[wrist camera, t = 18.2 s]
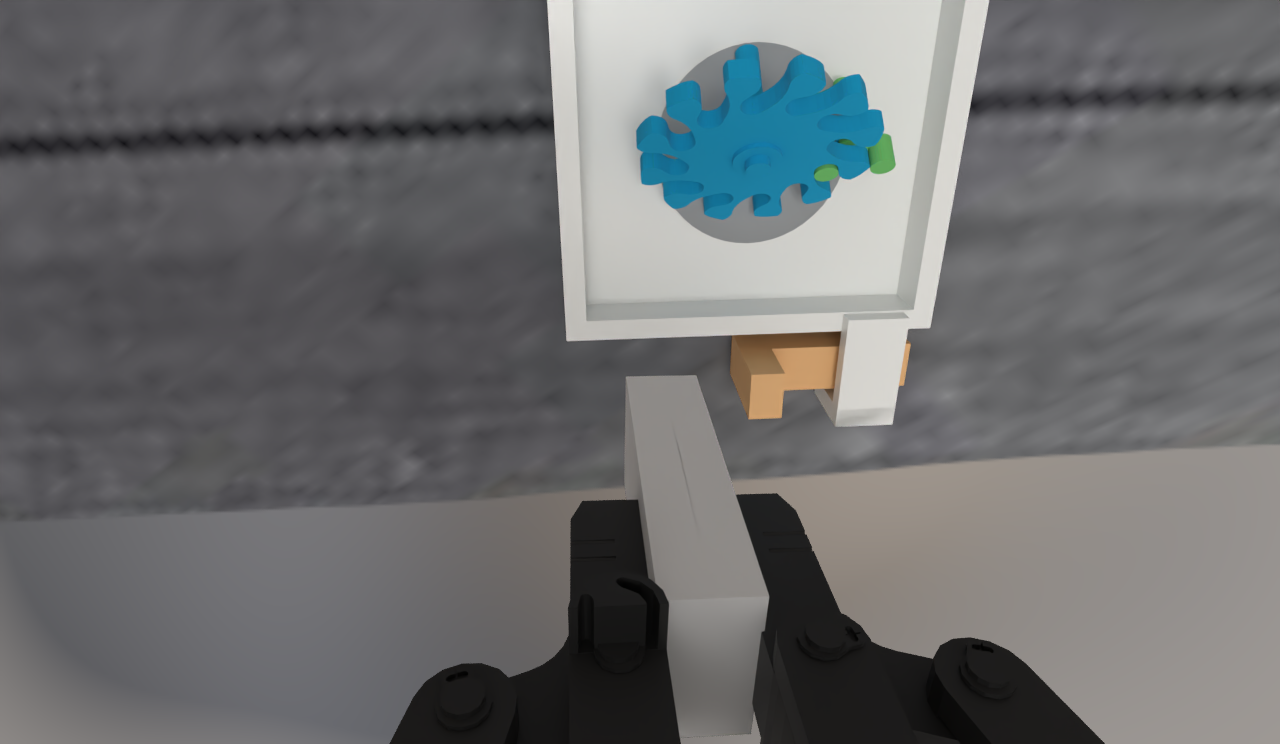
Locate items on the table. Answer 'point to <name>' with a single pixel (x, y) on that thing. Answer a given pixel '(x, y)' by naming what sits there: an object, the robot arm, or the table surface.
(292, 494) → the table surface
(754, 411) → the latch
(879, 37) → the tray
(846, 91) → the gear
